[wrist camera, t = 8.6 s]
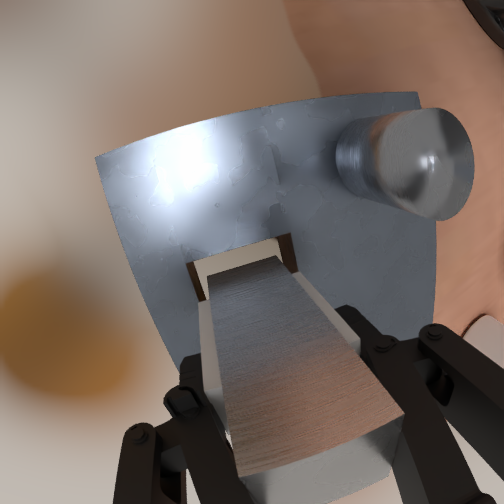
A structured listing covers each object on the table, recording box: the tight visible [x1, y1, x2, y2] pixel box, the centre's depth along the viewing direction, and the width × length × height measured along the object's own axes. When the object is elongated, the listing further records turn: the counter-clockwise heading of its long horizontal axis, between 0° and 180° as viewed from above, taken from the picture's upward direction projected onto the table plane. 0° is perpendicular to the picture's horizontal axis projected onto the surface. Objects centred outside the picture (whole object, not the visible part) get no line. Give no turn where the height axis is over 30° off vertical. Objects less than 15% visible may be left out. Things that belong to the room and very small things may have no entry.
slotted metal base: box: [95, 92, 474, 373], centre depth 16 cm, size 20×20×10 cm
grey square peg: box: [207, 255, 405, 504], centre depth 11 cm, size 4×4×12 cm
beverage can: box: [463, 315, 504, 369], centre depth 24 cm, size 8×8×12 cm
